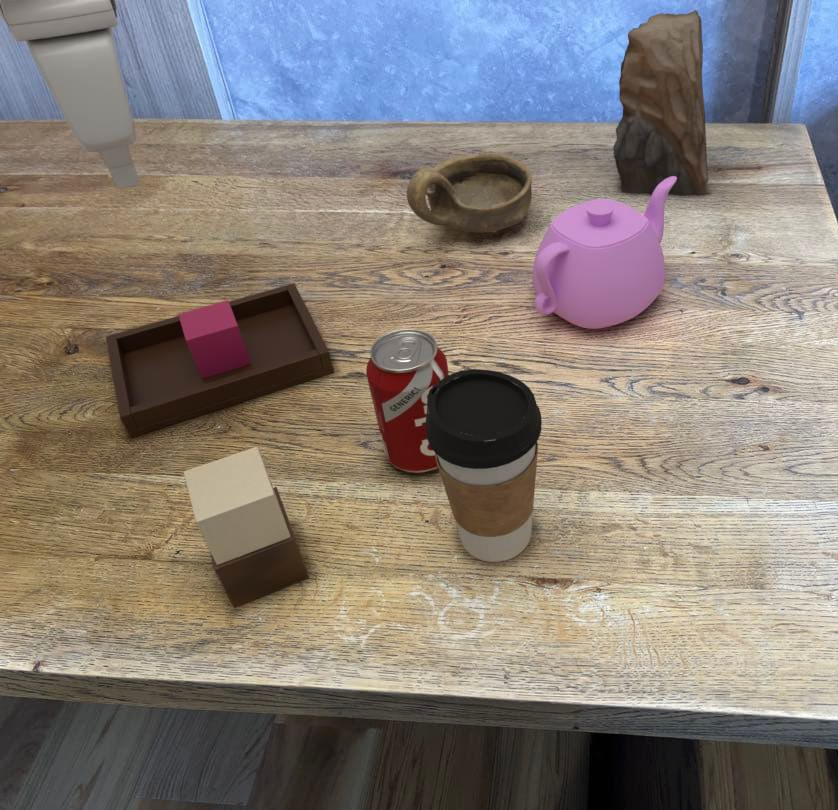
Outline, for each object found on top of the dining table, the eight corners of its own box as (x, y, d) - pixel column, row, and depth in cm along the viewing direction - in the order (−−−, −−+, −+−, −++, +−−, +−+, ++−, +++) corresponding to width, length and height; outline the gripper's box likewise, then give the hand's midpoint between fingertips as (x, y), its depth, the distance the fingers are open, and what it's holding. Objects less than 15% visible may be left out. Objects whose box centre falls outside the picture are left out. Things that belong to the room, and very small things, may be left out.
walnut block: (233, 608, 63) (214, 569, 60) (219, 553, 67) (200, 513, 64) (309, 578, 65) (294, 538, 62) (291, 526, 69) (276, 486, 66)
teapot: (579, 362, 84) (579, 264, 76) (499, 306, 92) (492, 212, 84) (709, 286, 93) (722, 192, 85) (627, 241, 101) (631, 151, 93)
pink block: (201, 379, 83) (185, 340, 79) (193, 352, 86) (178, 313, 83) (251, 364, 84) (237, 325, 81) (241, 338, 87) (227, 299, 84)
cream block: (217, 565, 60) (195, 522, 57) (204, 514, 64) (183, 471, 60) (290, 537, 62) (274, 493, 58) (274, 489, 65) (257, 445, 62)
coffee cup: (467, 486, 72) (448, 353, 62) (559, 507, 70) (555, 373, 59) (429, 561, 66) (401, 428, 56) (528, 586, 64) (518, 453, 54)
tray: (130, 438, 78) (119, 417, 76) (115, 357, 87) (105, 336, 85) (334, 372, 84) (328, 351, 82) (300, 303, 93) (294, 282, 91)
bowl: (558, 218, 105) (556, 145, 99) (453, 274, 97) (443, 197, 90) (488, 184, 113) (482, 114, 106) (385, 232, 104) (371, 159, 98)
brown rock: (611, 194, 110) (615, 39, 96) (615, 152, 119) (619, 5, 105) (707, 196, 108) (724, 40, 95) (703, 153, 118) (719, 5, 104)
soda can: (374, 471, 73) (348, 369, 65) (401, 420, 78) (380, 319, 70) (445, 483, 72) (428, 380, 64) (468, 431, 77) (455, 329, 69)
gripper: (0, -48, 64) (71, 123, 73) (4, 22, 50) (90, 222, 60) (86, -59, 66) (144, 109, 75) (112, 6, 52) (180, 202, 62)
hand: (121, 160), depth 67 cm, fingers open, 8 cm apart
